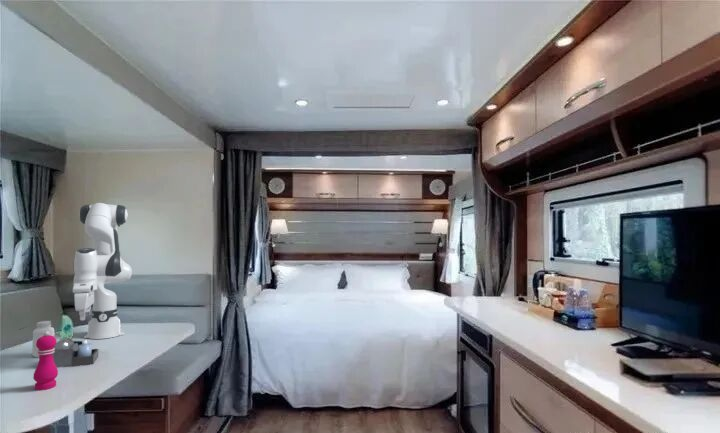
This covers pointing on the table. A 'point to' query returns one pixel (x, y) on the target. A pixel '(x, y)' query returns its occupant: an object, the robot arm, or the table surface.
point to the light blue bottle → (84, 349)
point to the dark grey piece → (71, 354)
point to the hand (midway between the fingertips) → (85, 318)
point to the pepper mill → (45, 363)
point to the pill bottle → (41, 334)
